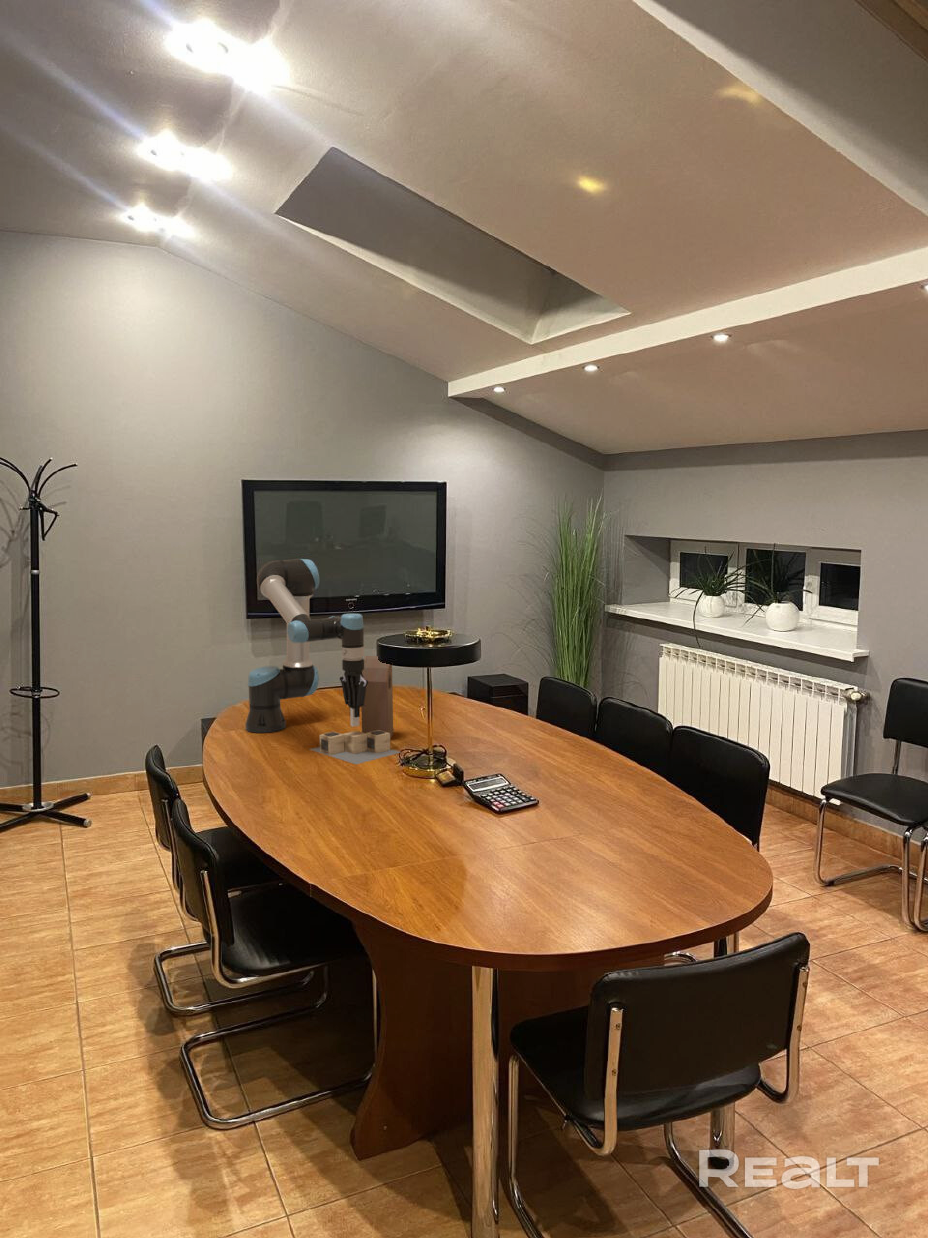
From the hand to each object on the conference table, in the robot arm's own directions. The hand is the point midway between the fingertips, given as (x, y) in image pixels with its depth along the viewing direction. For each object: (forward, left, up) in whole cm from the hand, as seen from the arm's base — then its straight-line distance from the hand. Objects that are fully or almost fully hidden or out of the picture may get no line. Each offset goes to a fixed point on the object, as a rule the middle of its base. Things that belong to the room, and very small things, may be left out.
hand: (355, 725), depth 322 cm
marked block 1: (-5, -6, -9) cm, 12 cm away
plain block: (0, 0, -9) cm, 9 cm away
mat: (0, 0, -10) cm, 10 cm away
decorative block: (-8, +17, -10) cm, 21 cm away
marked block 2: (+5, +6, -9) cm, 12 cm away
